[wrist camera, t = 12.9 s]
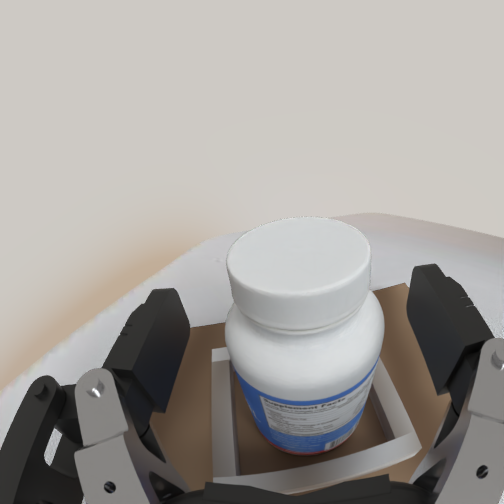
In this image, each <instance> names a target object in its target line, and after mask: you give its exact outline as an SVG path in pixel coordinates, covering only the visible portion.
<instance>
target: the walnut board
mask: <svg viewBox="0 0 504 504" xmlns="http://www.w3.org/2000/svg"><path fill="white" fill-rule="evenodd" d="M373 293H374V295H375V296H376V298H377V299H378V301H379V303H380V305H381V308H382V311H383V315H384V338H383V343H382V347H381V351H380V355H379V359H378V363H377V366H376V370H375V373H374V377H373V381H372V384H371V388H370V391H369V394H368V397H367V400H366V404H365V407H364V410H363V413H362V416H361V418H360V421H359V423H358V425H357V427H356V429H355V430H354V432H353V433H352V434H351V436H350V437H349V438H348V439H347V440H346V441H345V442H343V443H342V444H341V445H339V446H338V447H336V448H334V449H332V450H330V451H328V452H325V453H322V454H318V455H311V456H301V455H294V454H290V453H287V452H284V451H281V450H279V449H277V448H276V447H274V446H273V445H271V444H270V443H269V442H268V441H267V440H266V439H265V438H264V437H263V435H262V434H261V432H260V431H259V429H258V427H257V425H256V423H255V420H254V418H253V415H252V413H251V410H250V408H249V405H248V403H247V401H246V398H245V395H244V393H243V390H242V388H241V385H240V383H239V380H238V377H237V375H236V372H235V370H234V367H233V364H232V361H231V359H230V356H229V353H228V350H227V346H226V342H225V324H226V322H225V323H219V324H213V325H206V326H199V327H193V328H190V337H189V340H188V343H187V346H186V349H185V352H184V355H183V358H182V362H181V365H180V368H179V371H178V374H177V377H176V380H175V383H174V386H173V390H172V393H171V396H170V399H169V402H168V406H167V409H166V412H165V414H164V413H157V412H152V415H151V418H150V420H151V421H152V423H153V425H154V427H155V429H156V432H157V434H158V436H159V438H160V440H161V443H162V445H163V447H164V449H165V451H166V453H167V455H168V457H169V459H170V461H171V463H172V465H173V466H174V468H175V469H176V471H177V472H178V473H179V474H180V475H181V476H182V478H183V479H184V480H185V482H186V483H187V485H188V487H189V488H190V490H191V491H195V490H200V489H204V488H205V482H213V483H222V484H234V485H249V486H253V487H256V488H260V489H264V490H268V491H273V492H277V493H282V494H287V495H292V496H299V495H303V494H307V493H311V492H314V491H317V490H321V489H324V488H327V487H330V486H333V485H336V484H339V483H342V482H345V481H351V480H358V479H364V478H369V477H375V476H380V475H384V474H389V479H390V481H399V482H405V483H408V482H409V481H410V479H411V477H412V475H413V474H414V472H415V470H416V469H417V467H418V466H419V464H420V463H421V461H422V460H423V459H424V457H425V456H426V454H427V453H428V451H429V449H430V447H431V445H432V442H433V440H434V438H435V436H436V433H437V431H438V429H439V426H440V424H441V421H442V419H443V416H444V414H445V411H446V408H447V406H448V403H449V401H450V400H451V396H450V393H446V394H443V395H439V396H437V393H436V390H435V387H434V384H433V381H432V379H431V376H430V373H429V370H428V368H427V365H426V362H425V360H424V357H423V354H422V352H421V349H420V347H419V344H418V342H417V339H416V337H415V334H414V332H413V330H412V327H411V325H410V323H409V320H408V317H407V311H406V304H407V298H408V293H409V287H408V286H407V285H406V284H405V283H402V284H399V285H395V286H391V287H388V288H384V289H380V290H376V291H373Z"/></svg>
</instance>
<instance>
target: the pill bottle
mask: <svg viewBox="0 0 504 504" xmlns="http://www.w3.org/2000/svg"><path fill="white" fill-rule="evenodd" d="M226 265H227V271H228V275H229V280H230V284H231V291H232V297H233V299H234V303H233V305H232V307H231V309H230V311H229V313H228V316H227V319H226V324H225V342H226V346H227V350H228V353H229V356H230V359H231V361H232V364H233V367H234V370H235V372H236V375H237V377H238V380H239V383H240V385H241V388H242V390H243V393H244V395H245V398H246V401H247V403H248V405H249V408H250V410H251V413H252V415H253V418H254V420H255V423H256V425H257V427H258V429H259V431H260V432H261V434H262V435H263V437H264V438H265V439H266V440H267V441H268V442H269V443H270V444H271V445H273V446H274V447H276V448H277V449H279V450H281V451H284V452H287V453H290V454H294V455H301V456H311V455H318V454H322V453H325V452H328V451H330V450H332V449H334V448H336V447H338V446H339V445H341V444H342V443H343V442H345V441H346V440H347V439H348V438H349V437H350V436H351V434H352V433H353V432H354V430H355V429H356V427H357V425H358V423H359V421H360V418H361V416H362V413H363V410H364V407H365V404H366V400H367V397H368V394H369V391H370V388H371V384H372V381H373V377H374V373H375V370H376V366H377V363H378V359H379V355H380V351H381V347H382V343H383V338H384V315H383V311H382V308H381V305H380V303H379V301H378V299H377V298H376V296H375V295H374V293H373V292H372V291H371V290H370V289H369V288H370V272H371V248H370V244H369V242H368V240H367V239H366V237H365V236H364V235H363V234H362V233H361V232H360V231H359V230H358V229H356V228H355V227H353V226H351V225H349V224H346V223H344V222H342V221H338V220H334V219H330V218H322V217H293V218H286V219H281V220H277V221H273V222H270V223H266V224H263V225H261V226H258V227H256V228H254V229H252V230H250V231H248V232H247V233H245V234H244V235H242V236H241V237H240V238H239V239H237V240H236V241H235V243H234V244H233V245H232V246H231V248H230V250H229V251H228V254H227V259H226Z"/></svg>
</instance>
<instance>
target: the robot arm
mask: <svg viewBox="0 0 504 504" xmlns="http://www.w3.org/2000/svg"><path fill="white" fill-rule="evenodd" d="M406 311H407V317H408V320H409V323H410V325H411V327H412V330H413V332H414V334H415V337H416V339H417V342H418V344H419V347H420V349H421V352H422V354H423V357H424V360H425V362H426V365H427V368H428V370H429V373H430V376H431V379H432V381H433V384H434V387H435V390H436V393H437V396H439V395H443V394H446V393H450V396H451V400H450V401H449V403H448V406H447V408H446V411H445V414H444V416H443V419H442V421H441V424H440V426H439V429H438V431H437V433H436V436H435V438H434V440H433V442H432V445H431V447H430V449H429V451H428V453H427V454H426V456H425V457H424V459H423V460H422V461H421V463H420V464H419V466H418V467H417V469H416V470H415V472H414V474H413V475H412V477H411V479H410V481H409V482H408V483H405V482H399V481H390V479H389V474H384V475H380V476H375V477H369V478H364V479H358V480H351V481H345V482H342V483H339V484H336V485H333V486H330V487H327V488H324V489H321V490H317V491H314V492H311V493H307V494H303V495H299V496H292V495H287V494H282V493H277V492H273V491H268V490H264V489H260V488H256V487H253V486H249V485H234V484H222V483H213V482H205V488H204V489H200V490H195V491H191V490H190V488H189V487H188V485H187V483H186V482H185V480H184V479H183V478H182V476H181V475H180V474H179V473H178V472H177V471H176V469H175V468H174V466H173V465H172V463H171V461H170V459H169V457H168V455H167V453H166V451H165V449H164V447H163V445H162V443H161V440H160V438H159V436H158V434H157V432H156V429H155V427H154V425H153V423H152V421H151V420H150V418H151V415H152V412H157V413H164V414H165V412H166V409H167V406H168V402H169V399H170V396H171V393H172V390H173V386H174V383H175V380H176V377H177V374H178V371H179V368H180V365H181V362H182V358H183V355H184V352H185V349H186V346H187V343H188V340H189V337H190V324H189V320H188V318H187V315H186V313H185V310H184V308H183V305H182V303H181V300H180V297H179V295H178V292H177V291H176V290H175V289H174V288H167V289H154V290H152V291H151V293H150V295H149V296H148V298H147V300H146V302H145V304H141V305H140V306H139V307H138V308H137V309H136V310H135V311H133V312H132V313H131V315H130V317H129V318H128V320H127V322H126V324H125V327H123V329H122V331H121V333H120V335H119V336H118V338H117V340H116V342H115V344H114V345H113V347H112V349H111V351H110V353H109V355H108V357H107V359H106V360H105V362H104V364H103V366H102V368H97V369H93V370H90V371H88V372H87V373H85V374H84V375H83V376H82V377H81V378H80V379H79V381H78V382H77V384H73V385H65V386H60V385H59V384H58V383H57V381H56V380H55V379H54V378H53V377H51V376H48V375H46V376H41V377H39V378H38V379H36V380H35V381H34V382H33V383H32V384H31V386H30V387H29V389H28V391H27V393H26V395H25V397H24V399H23V401H22V403H21V405H20V407H19V409H18V411H17V413H16V415H15V417H14V419H13V422H12V424H11V426H10V428H9V431H8V433H7V435H6V438H5V440H4V442H3V445H2V447H1V450H0V504H82V500H83V496H84V497H85V500H86V503H87V504H498V503H499V500H500V498H501V495H502V493H503V490H504V339H502V338H495V337H494V336H493V334H492V332H491V331H490V329H489V327H488V326H487V324H486V322H485V321H484V319H483V318H482V316H481V314H480V313H479V311H478V310H477V308H476V307H475V306H474V304H473V302H472V301H471V299H470V298H468V295H467V293H466V292H465V290H464V289H463V288H462V286H461V285H460V284H459V283H457V282H456V281H455V280H453V279H452V278H451V277H446V276H445V275H444V274H443V272H442V271H441V270H440V268H439V267H438V266H437V265H436V264H428V265H421V266H415V267H414V269H413V272H412V277H411V283H410V288H409V293H408V298H407V304H406ZM54 428H55V429H57V430H58V431H59V432H60V433H61V434H62V437H61V439H60V442H59V445H58V447H57V450H56V453H55V456H54V459H53V461H52V464H51V465H50V466H49V465H48V464H47V463H46V461H45V459H44V453H45V450H46V447H47V444H48V442H49V439H50V436H51V434H52V431H53V429H54Z"/></svg>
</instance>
